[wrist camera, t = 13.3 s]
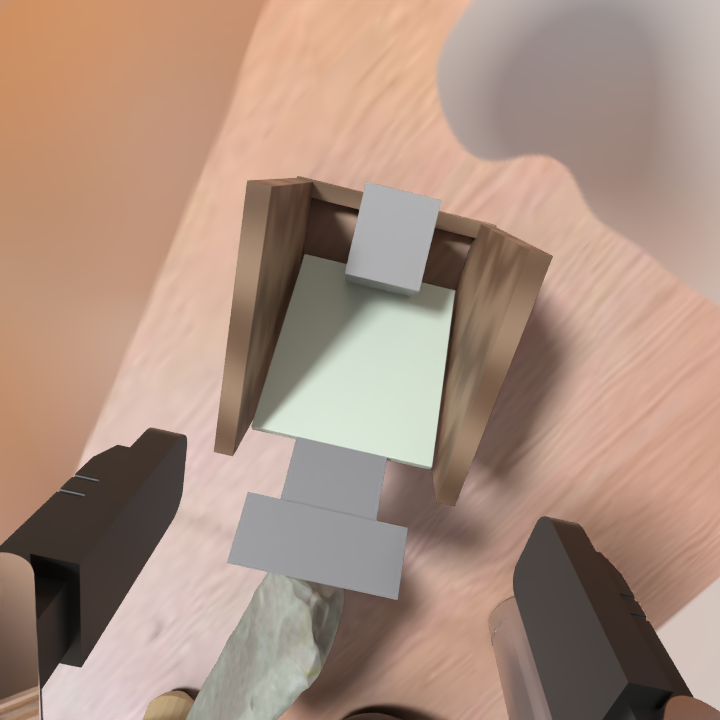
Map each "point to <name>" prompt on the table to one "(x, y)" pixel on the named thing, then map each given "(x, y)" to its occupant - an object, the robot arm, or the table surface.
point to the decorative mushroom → (169, 706)
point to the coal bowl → (372, 717)
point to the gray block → (391, 240)
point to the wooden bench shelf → (467, 330)
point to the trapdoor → (345, 427)
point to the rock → (272, 651)
